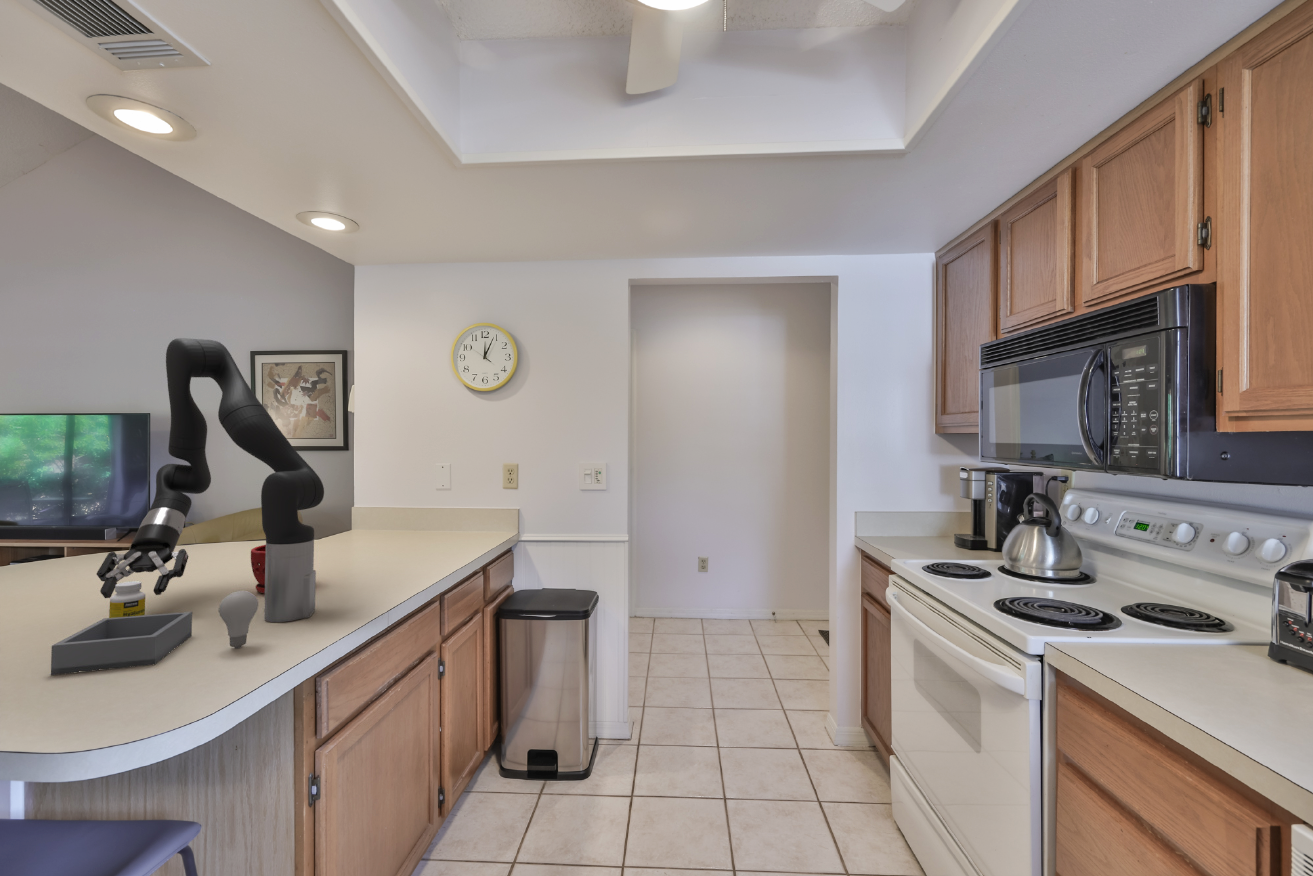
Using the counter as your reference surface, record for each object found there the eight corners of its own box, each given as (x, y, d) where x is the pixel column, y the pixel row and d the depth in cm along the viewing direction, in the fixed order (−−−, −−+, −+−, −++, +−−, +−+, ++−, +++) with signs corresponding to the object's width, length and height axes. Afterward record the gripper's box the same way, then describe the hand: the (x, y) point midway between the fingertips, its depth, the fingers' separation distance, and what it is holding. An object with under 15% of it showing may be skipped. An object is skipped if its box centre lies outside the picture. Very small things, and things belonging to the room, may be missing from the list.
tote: (191, 636, 112) (192, 611, 112) (154, 664, 98) (155, 636, 98) (103, 644, 107) (103, 618, 107) (50, 675, 93) (51, 645, 93)
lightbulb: (214, 656, 102) (215, 597, 102) (222, 645, 107) (223, 589, 107) (254, 651, 105) (255, 593, 105) (260, 640, 110) (261, 585, 110)
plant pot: (268, 584, 152) (269, 541, 152) (318, 583, 154) (319, 540, 154) (238, 597, 139) (239, 550, 139) (293, 596, 141) (294, 549, 141)
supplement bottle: (122, 635, 112) (123, 587, 112) (101, 633, 113) (102, 585, 113) (151, 626, 117) (152, 581, 117) (131, 624, 118) (132, 579, 118)
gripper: (114, 523, 122) (80, 588, 111) (192, 521, 127) (167, 582, 116) (126, 543, 127) (95, 606, 116) (201, 540, 132) (178, 600, 121)
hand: (131, 594), depth 116 cm, fingers open, 8 cm apart
